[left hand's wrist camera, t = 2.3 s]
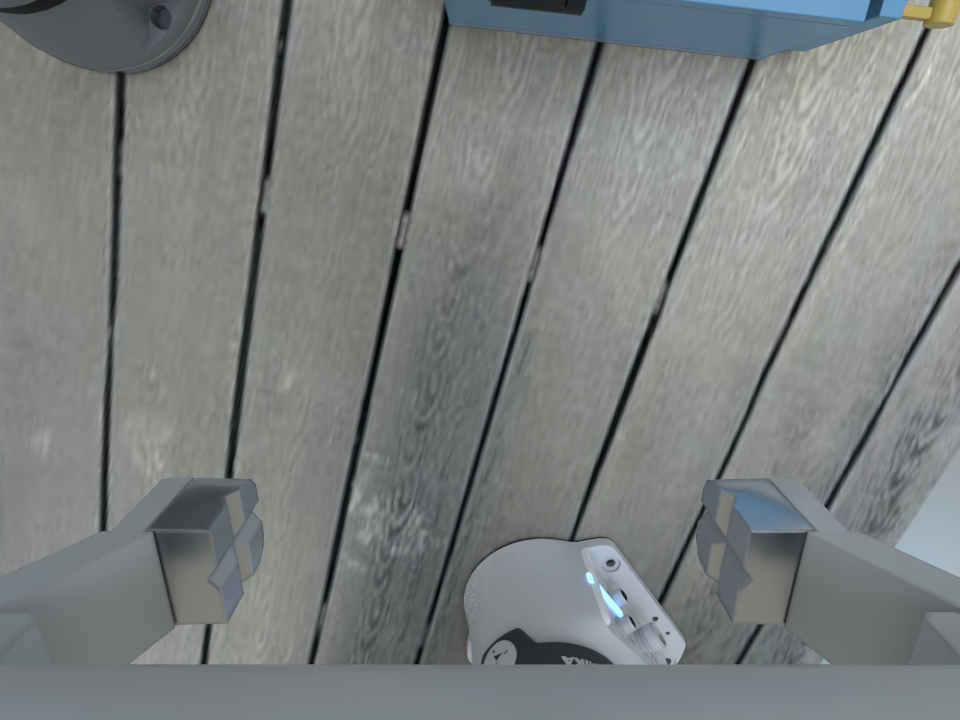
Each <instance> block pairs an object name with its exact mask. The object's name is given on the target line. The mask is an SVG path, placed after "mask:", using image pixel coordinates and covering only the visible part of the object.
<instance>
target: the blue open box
mask: <svg viewBox="0 0 960 720" xmlns="http://www.w3.org/2000/svg"><path fill="white" fill-rule="evenodd" d="M444 2H445V6H446V10H447V14H448V19H449V25H454V26H463V27H472V28H481V29H489V30H498V31H507V32H516V33H525V34H533V35H542V36H551V37H560V38H569V39H577V40H586V41H595V42H604V43H612V44H621V45H630V46H639V47H648V48H656V49H665V50H674V51H683V52H692V53H700V54H709V55H718V56H727V57H735V58H744V59H753V60H762V59H765V58H766V57H769V56H772V55H774V54H777V53H780V52H783V51H785V50H788V49H791V48H794V47H796V46H799V45H802V44H805V43H807V42H810V41H813V40H816V39H818V38H821V37H824V36H827V35H829V34H832V33H835V32H838V31H840V30H843V29H846V28H849V27H851V26H854V25H857V24H860V23H862V22H864V21H865V17H866V14H867V10H868V7H869V3H870V0H590V1H587V2H586V6H585V11H583V13H582V15H581V16H577V15H568V14H559V13H550V12H541V11H531V10H522V9H513V8H504V7H495V6H491V1H488V0H444Z"/></svg>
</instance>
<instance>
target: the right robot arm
mask: <svg viewBox="0 0 960 720" xmlns="http://www.w3.org/2000/svg"><path fill="white" fill-rule="evenodd" d="M210 1H211V0H0V21H1V22H2V23H4V24H5V25H7V26H8V27H9V28H11V29H12V30H13V31H15V32H16V33H17V34H18V35H19V36H21V37H22V38H23V39H24V40H26V41H27V42H29V43H30V44H32V45H33V46H35V47H36V48H38V49H40V50H42V51H43V52H45V53H47V54H49V55H51V56H53V57H55V58H57V59H59V60H61V61H64V62H66V63H69V64H72V65H74V66H78V67H82V68H85V69H89V70H94V71H98V72H104V73H111V74H131V73H138V72H143V71H146V70H150V69H153V68H155V67H157V66H160V65H162V64H164V63H165V62H167V61H169V60H170V59H172V58H173V57H174V56H176V55H177V54H178V53H180V52H181V51H182V50H183V49H184V48H185V47H186V46H187V45H188V43H189V42H190V41H191V40H192V39H193V37H194V36H195V34H196V33H197V31H198V30H199V28H200V26H201V24H202V22H203V20H204V18H205V15H206V13H207V10H208V8H209V4H210ZM488 1H491V6H495V7H504V8H513V9H522V10H531V11H541V12H550V13H559V14H568V15H577V16H581V15H582V13H583V11H585V6H586V2H587V1H590V0H488Z"/></svg>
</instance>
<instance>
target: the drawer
mask: <svg viewBox="0 0 960 720" xmlns="http://www.w3.org/2000/svg"><path fill="white" fill-rule="evenodd" d="M906 2H907V0H870V3H869V7H868V10H867V14H866V17H865V21H864V22H862V23H860V24H857V25H854V26H851V27H849V28H846V29H843V30H840V31H838V32H835V33H832V34H829V35H827V36H824V37H821V38H818V39H816V40H813V41H810V42H807V43H805V44H802V45H799V46H796V47H794V48H791V49H788V50H795V51H807V50H810V49H813V48H816V47H819V46H822V45H825V44H828V43H831V42H834V41H837V40H839V39H842V38H845V37H848V36H851V35H854V34H857V33H860V32H863V31H866V30H869V29H872V28H875V27H878V26H881V25H884V24H887V23H890V22H893V21H896V20H899V19H908V20H916V21H923V24H922V25H923V27H925V28H931V29H939V28H947V27H951V26H953V25H954V24H955V21H956V18H957V15H958V12H959V9H960V0H930V2H929V5H928V7H926V6H918V5H909V4H906Z"/></svg>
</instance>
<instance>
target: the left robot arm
mask: <svg viewBox="0 0 960 720" xmlns="http://www.w3.org/2000/svg"><path fill="white" fill-rule="evenodd" d="M258 501H259V499H258V494H257V489H256V484H255V483H254V482H253V481H252V480H251V479H221V478H196V479H195V478H167V479H163V480H161V481H160V482H159V483H158V484H157V485H156V486H155V487H154V488H153V490H152V491H151V492H150V493H149V494H148V495H147V496H146V497H145V498H144V499H143V500H142V501H141V502H140V503H139V504H138V505H137V506H136V507H135V508H134V509H133V510H132V511H131V512H130V513H129V514H128V515H127V516H126V517H125V518H124V519H123V520H122V521H121V522H120V523H119V524H118V525H117V526H116V527H115V528H114V529H113V530H112V531H102V532H100V533H97V534H95V535H93V536H91V537H89V538H86V539H84V540H82V541H80V542H78V543H75V544H73V545H71V546H69V547H67V548H64V549H62V550H60V551H58V552H56V553H53V554H51V555H49V556H47V557H45V558H42V559H40V560H38V561H36V562H33V563H31V564H29V565H27V566H25V567H22V568H20V569H18V570H16V571H14V572H11V573H9V574H7V575H5V576H3V577H0V720H960V578H959V577H957V576H955V575H953V574H951V573H948V572H946V571H944V570H942V569H940V568H937V567H935V566H933V565H931V564H928V563H926V562H924V561H922V560H920V559H918V558H915V557H913V556H911V555H909V554H907V553H904V552H902V551H900V550H898V549H896V548H893V547H891V546H889V545H887V544H885V543H882V542H880V541H878V540H876V539H874V538H871V537H869V536H867V535H865V534H863V533H860V532H858V531H848V530H847V529H846V528H845V527H844V526H843V525H842V524H841V523H840V522H839V521H838V520H837V519H836V518H835V517H834V516H833V515H832V514H831V513H830V512H829V511H828V510H827V509H826V508H825V507H824V506H823V505H822V504H821V503H820V502H819V501H818V500H817V499H816V497H815V496H814V495H813V494H812V493H811V492H810V491H809V490H808V489H807V488H806V487H805V486H804V485H803V484H802V483H801V482H800V481H799V480H797V479H794V478H791V477H789V478H763V479H726V480H707V481H706V483H705V486H704V488H703V493H702V499H701V501H702V502H703V504H704V505H705V507H706V509H707V510H708V512H707V513H706V514H705V515H704V516H703V517H702V518H701V519H700V520H699V521H698V525H697V534H696V542H697V552H698V556H699V559H700V563H701V565H702V567H703V569H704V571H705V573H706V575H708V576H709V577H711V578H712V579H714V580H715V581H717V582H718V587H717V593H716V594H717V595H718V597H719V599H720V601H721V603H722V605H723V606H724V608H725V610H726V612H727V614H728V616H729V617H730V619H731V621H732V623H739V624H775V625H785V628H786V629H788V630H789V631H790V632H792V633H793V634H794V635H795V636H797V637H798V638H799V639H800V640H802V641H803V642H804V643H805V644H807V645H808V646H809V647H810V648H812V649H813V650H814V651H815V652H817V653H818V654H819V655H820V656H822V657H823V658H824V659H826V660H827V661H828V662H829V663H830V664H832V665H676V664H677V663H678V661H679V660H680V658H681V656H682V654H683V652H684V649H685V646H686V645H685V641H684V637H683V635H682V633H681V632H680V630H679V629H678V628H677V626H676V625H675V624H674V622H673V621H672V620H671V618H670V617H669V615H668V614H667V613H666V611H665V610H664V609H663V607H662V606H661V605H660V603H659V602H658V601H657V599H656V598H655V597H654V595H653V594H652V593H651V591H650V590H649V589H648V587H647V586H646V585H645V583H644V582H643V581H642V579H641V578H640V577H639V575H638V574H637V573H636V571H635V570H634V569H633V567H632V566H631V565H630V563H629V562H628V561H627V559H626V558H625V557H624V555H623V554H622V553H621V551H620V550H619V549H618V547H617V546H616V545H615V543H614V542H613V541H611V540H610V539H606V538H596V539H590V540H584V541H580V542H568V541H561V540H555V539H530V540H524V541H520V542H516V543H513V544H510V545H507V546H505V547H503V548H501V549H499V550H497V551H495V552H494V553H492V554H491V555H489V556H488V557H487V558H485V559H484V560H483V561H482V562H481V563H480V564H479V565H478V566H477V568H476V569H475V570H474V572H473V573H472V575H471V576H470V578H469V580H468V582H467V585H466V589H465V593H464V610H465V614H466V618H467V622H468V627H469V634H468V639H467V644H466V649H467V657H468V660H469V661H470V662H471V663H472V665H128V664H130V663H131V662H132V661H133V660H135V659H136V658H137V657H139V656H140V655H141V654H142V653H144V652H145V651H146V650H147V649H149V648H150V647H151V646H152V645H154V644H155V643H156V642H157V641H159V640H160V639H161V638H162V637H164V636H165V635H166V634H167V633H169V632H170V631H171V630H173V629H174V628H175V625H185V624H219V623H228V621H229V619H230V618H231V616H232V614H233V612H234V610H235V608H236V606H237V605H238V603H239V601H240V599H241V597H242V595H243V594H244V593H243V587H242V582H243V581H245V580H246V579H248V578H249V577H251V576H252V575H254V573H255V571H256V569H257V567H258V565H259V563H260V559H261V555H262V551H263V545H264V532H263V525H262V521H261V520H260V519H259V518H258V517H257V516H256V515H255V514H254V513H253V512H252V510H253V509H254V507H255V505H256V504H257V502H258ZM610 559H612V561H611V562H607V561H608V560H610Z"/></svg>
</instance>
